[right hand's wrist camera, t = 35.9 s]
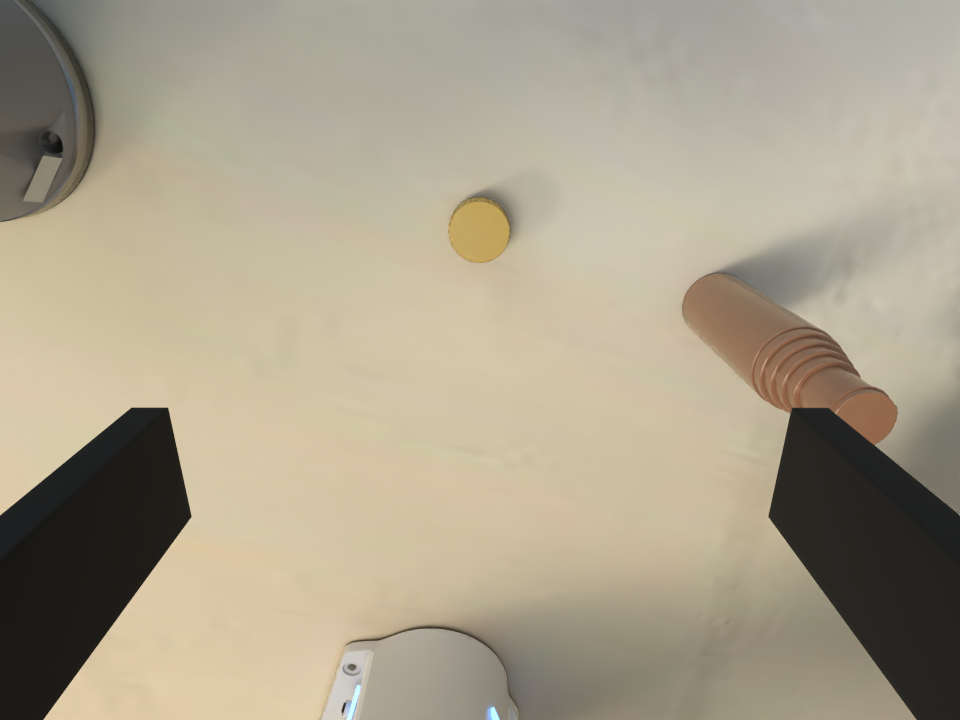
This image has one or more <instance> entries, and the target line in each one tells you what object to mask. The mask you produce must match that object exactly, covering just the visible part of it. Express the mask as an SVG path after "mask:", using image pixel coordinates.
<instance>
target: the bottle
mask: <svg viewBox="0 0 960 720" xmlns="http://www.w3.org/2000/svg"><path fill="white" fill-rule="evenodd" d="M682 312H683V317H684V320H685V322H686V324H687V325H688V326H689V327H690V328H691V329H692V330H693V331H694V332H695V333H696V334H697V335H698V336H699V337H700V338H701V339H702V340H703V341H704V342H705V343H706V344H707V345H708V346H709V347H710V348H711V349H712V350H713V351H714V352H715V353H716V354H717V355H718V356H719V357H720V358H721V359H722V360H723V361H724V362H725V363H726V364H727V365H728V366H729V367H730V368H731V369H732V370H733V371H734V372H736V373H737V374H738V375H739V376H740V377H741V378H742V379H743V380H744V381H745V382H746V383H747V384H748V385H749V386H750V387H751V388H752V389H753V390H754V391H755V392H756V393H757V394H758V395H759V396H760V397H761V398H762V399H764V400H765V401H767V402H769V403H770V404H771V405H773V406H775V407H776V408H779V409H782V410H784V411H786V412H789V413H791V410H792V408H829V409H831V410H832V411H833V412H834V413H835V414H837V415H838V416H839V417H840V418H841V419H843V420H844V421H845V422H846V423H848V424H849V425H850V426H851V427H852V428H854V429H855V430H856V431H857V432H859V433H860V434H861V435H862V436H863V437H865V438H866V439H867V440H868V441H870V442H871V443H872V444H873V445H875V444H877V443H878V442H880V441H881V440H883V439H884V438H885V437H886V436H887V435H888V434H889V433H890V432H891V430H892V428H893V427H894V425H895V422H896V419H897V414H898V411H897V406H896V405H895V404H894V403H893V401H892V400H891V399H890V398H889V396H888V395H887V394H886V393H885V392H884V391H883V390H881V389H879V388H877V387H873V386H871V385H870V384H868V383H867V382H865V381H864V380H862V379H861V377H860V375H859V373H858V371H857V370H856V369H855V368H854V366H853V364H852V363H851V361H850V360H849V359H848V357H847V356H846V354H845V353H844V352H843V350H842V348H841V347H840V345H839V344H838V343H837V342H836V341H835V340H833V339H832V338H831V336H830V335H828V334H827V333H826V332H824V331H823V330H821V329H819V328H818V327H816V326H814V325H813V324H811V323H810V322H808V321H806V320H805V319H803V318H801V317H800V316H798V315H796V314H795V313H793V312H791V311H790V310H788V309H787V308H785V307H783V306H782V305H780V304H778V303H777V302H775V301H773V300H772V299H770V298H768V297H767V296H765V295H764V294H762V293H760V292H759V291H757V290H755V289H754V288H752V287H750V286H749V285H747V284H745V283H744V282H742V281H741V280H739V279H737V278H736V277H734V276H732V275H729V274H724V273H715V274H710V275H707V276H705V277H703V278H701V279H699V280H698V281H696V282H695V283H694V284H693V285H692V286H691V287H690V289H689V290H688V291H687V293H686V295H685V298H684V301H683V306H682Z"/></svg>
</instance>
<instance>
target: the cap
mask: <svg viewBox="0 0 960 720" xmlns="http://www.w3.org/2000/svg"><path fill="white" fill-rule="evenodd" d="M507 219H508V218H507V215H506V214H505V212H504V209H502V208H501V207H500V205H499V204H497V203H495V201H492V200H489V198H488V199H486V198H483V197H481V198H476V197H475V198H473V199H469V200H467V201H463V203H462V204H461V205H458V208H457V209H456V210H454V213H453V215H452V216H451V219H450V220H451V221H450V223H449V231H448V233H449V239H450V242H451V245H452V247H453V248H454V250H455V251H456V252H457V253H458V254H459V255H460V256H461V257H462V258H464V259H466V260H468V261H471V262H476V263H483V262H488V261H491V260H493V259H495V258H496V257H498V256H499V255H500V254H501V253H502V252H503V251H504V249H505V248H506V246H507V244H508V240H509V238H510V236H509V235H510V228H509V225H510V224H509V220H507Z"/></svg>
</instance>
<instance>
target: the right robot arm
mask: <svg viewBox="0 0 960 720" xmlns="http://www.w3.org/2000/svg"><path fill="white" fill-rule="evenodd" d="M93 134H94V123H93V111H92V105H91V100H90V96H89V92H88V88H87V85H86V82H85V79H84V76H83V74H82V72H81V69H80V67H79V65H78V62H77V61H76V59H75V57H74V55H73V53H72V51H71V49H70V48H69V46H68V45H67V43H66V42H65V40H64V38H63V37H62V36H61V34H60V33H59V32H58V30H57V29H56V28H55V26H54V25H53V24H52V23H51V22H50V20H49V19H48V18H47V17H46V16H45V15H44V14H43V13H42V12H41V11H40V10H39V9H38V8H37V7H36V6H35V5H34V4H33V3H32V2H31V1H30V0H0V222H4V221H10V220H15V219H19V218H24V217H29V216H32V215H36V214H39V213H41V212H44V211H46V210H48V209H50V208H52V207H54V206H55V205H57V204H58V203H60V202H61V201H63V200H64V199H65V198H66V197H67V196H68V195H69V194H70V193H71V192H72V191H73V189H74V188H75V187H76V186H77V184H78V183H79V181H80V180H81V178H82V176H83V174H84V172H85V170H86V168H87V165H88V162H89V159H90V155H91V151H92V145H93ZM190 518H191V512H190V507H189V503H188V498H187V493H186V489H185V484H184V479H183V475H182V470H181V466H180V461H179V456H178V452H177V447H176V442H175V438H174V433H173V429H172V424H171V419H170V415H169V410H168V408H131V409H129V410H128V411H127V412H126V413H125V414H123V415H122V416H121V417H120V418H119V419H117V420H116V421H115V422H114V423H112V424H111V425H110V426H109V427H108V428H106V429H105V430H104V431H103V432H101V433H100V434H99V435H98V436H97V437H95V438H94V439H93V440H92V441H90V442H89V443H88V444H87V445H86V446H84V447H83V448H82V449H81V450H80V451H78V452H77V453H76V454H75V455H73V456H72V457H71V458H70V459H69V460H67V461H66V462H65V463H64V464H62V465H61V466H60V467H59V468H58V469H56V470H55V471H54V472H53V473H52V474H50V475H49V476H48V477H47V478H45V479H44V480H43V481H42V482H41V483H39V484H38V485H37V486H36V487H34V488H33V489H32V490H31V491H30V492H28V493H27V494H26V495H25V496H23V497H22V498H21V499H20V500H19V501H17V502H16V503H15V504H14V505H13V506H11V507H10V508H9V509H8V510H6V511H5V512H4V513H3V514H2V515H0V720H43V719H44V718H45V717H46V715H47V714H48V712H49V711H50V710H51V708H52V707H53V706H54V704H55V703H56V702H57V700H58V699H59V697H60V696H61V695H62V693H63V692H64V691H65V689H66V688H67V686H68V685H69V684H70V682H71V681H72V680H73V678H74V677H75V676H76V674H77V673H78V671H79V670H80V669H81V667H82V666H83V665H84V663H85V662H86V660H87V659H88V658H89V656H90V655H91V654H92V652H93V651H94V650H95V648H96V647H97V645H98V644H99V643H100V641H101V640H102V639H103V637H104V636H105V634H106V633H107V632H108V630H109V629H110V628H111V626H112V625H113V624H114V622H115V621H116V619H117V618H118V617H119V615H120V614H121V613H122V611H123V610H124V608H125V607H126V606H127V604H128V603H129V602H130V600H131V599H132V598H133V596H134V595H135V593H136V592H137V591H138V589H139V588H140V587H141V585H142V584H143V582H144V581H145V580H146V578H147V577H148V576H149V574H150V573H151V572H152V570H153V569H154V567H155V566H156V565H157V563H158V562H159V561H160V559H161V558H162V556H163V555H164V554H165V552H166V551H167V550H168V548H169V547H170V545H171V544H172V543H173V541H174V540H175V539H176V537H177V536H178V535H179V533H180V532H181V530H182V529H183V528H184V526H185V525H186V524H187V522H188V521H189V519H190ZM769 518H770V519H771V521H772V522H773V524H774V525H775V526H776V528H777V529H778V530H779V532H780V533H781V535H782V536H783V537H784V539H785V540H786V541H787V543H788V544H789V545H790V547H791V548H792V550H793V551H794V552H795V554H796V555H797V556H798V558H799V559H800V561H801V562H802V563H803V565H804V566H805V567H806V569H807V570H808V572H809V573H810V574H811V576H812V577H813V578H814V580H815V581H816V582H817V584H818V585H819V587H820V588H821V589H822V591H823V592H824V593H825V595H826V596H827V598H828V599H829V600H830V602H831V603H832V604H833V606H834V607H835V608H836V610H837V611H838V613H839V614H840V615H841V617H842V618H843V619H844V621H845V622H846V624H847V625H848V626H849V628H850V629H851V630H852V632H853V633H854V634H855V636H856V637H857V639H858V640H859V641H860V643H861V644H862V645H863V647H864V648H865V650H866V651H867V652H868V654H869V655H870V656H871V658H872V659H873V660H874V662H875V663H876V665H877V666H878V667H879V669H880V670H881V671H882V673H883V674H884V676H885V677H886V678H887V680H888V681H889V682H890V684H891V685H892V686H893V688H894V689H895V691H896V692H897V693H898V695H899V696H900V697H901V699H902V700H903V702H904V703H905V704H906V706H907V707H908V708H909V710H910V711H911V712H912V714H913V715H914V717H915V718H916V719H917V720H960V515H958V514H957V513H956V512H955V511H954V510H952V509H951V508H950V507H949V506H947V505H946V504H945V503H944V502H943V501H941V500H940V499H939V498H938V497H937V496H935V495H934V494H933V493H932V492H930V491H929V490H928V489H927V488H926V487H924V486H923V485H922V484H921V483H919V482H918V481H917V480H916V479H915V478H913V477H912V476H911V475H910V474H908V473H907V472H906V471H905V470H904V469H902V468H901V467H900V466H899V465H898V464H896V463H895V462H894V461H893V460H891V459H890V458H889V457H888V456H887V455H885V454H884V453H883V452H882V451H880V450H879V449H878V448H877V447H876V446H874V445H873V444H872V443H871V442H870V441H868V440H867V439H866V438H865V437H863V436H862V435H861V434H860V433H859V432H857V431H856V430H855V429H854V428H852V427H851V426H850V425H849V424H848V423H846V422H845V421H844V420H843V419H841V418H840V417H839V416H838V415H837V414H835V413H834V412H833V411H832V410H831V409H829V408H792V410H791V415H790V419H789V424H788V429H787V433H786V438H785V442H784V447H783V452H782V456H781V461H780V466H779V470H778V475H777V479H776V484H775V489H774V493H773V498H772V503H771V507H770V512H769Z"/></svg>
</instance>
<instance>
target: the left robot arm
mask: <svg viewBox="0 0 960 720" xmlns="http://www.w3.org/2000/svg"><path fill="white" fill-rule="evenodd" d="M958 515H960V513H959V514H958ZM518 719H519V711H518V708H517V707H516V705H515V703H514V702H513V700H512V699H511V698H510V696H509V693H508V684H507V676H506V672H505V669H504V667H503V665H502V663H501V661H500V660H499V658H498V657H497V656H496V655H495V654H494V653H493V652H492V651H491V650H490V649H489V648H488V647H487V646H485V645H484V644H483V643H481V642H479V641H478V640H476V639H474V638H472V637H470V636H467V635H465V634H462V633H459V632H455V631H450V630H444V629H416V630H410V631H406V632H402V633H399V634H396V635H393V636H391V637H388V638H386V639H382V640H378V641H360V642H353V643H350V644H348V645H347V646H346V647H345V648H344V650H343V653H342V656H341V659H340V662H339V665H338V668H337V670H336V673H335V676H334V679H333V682H332V685H331V688H330V691H329V694H328V697H327V700H326V703H325V706H324V709H323V712H322V715H321V718H320V720H518Z"/></svg>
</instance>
